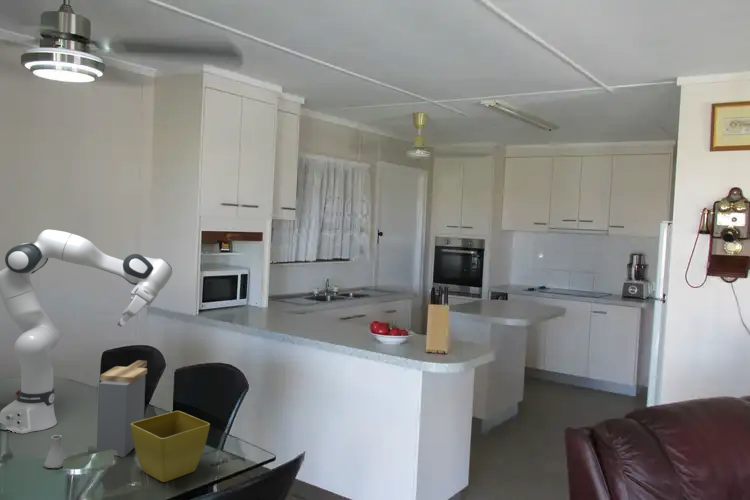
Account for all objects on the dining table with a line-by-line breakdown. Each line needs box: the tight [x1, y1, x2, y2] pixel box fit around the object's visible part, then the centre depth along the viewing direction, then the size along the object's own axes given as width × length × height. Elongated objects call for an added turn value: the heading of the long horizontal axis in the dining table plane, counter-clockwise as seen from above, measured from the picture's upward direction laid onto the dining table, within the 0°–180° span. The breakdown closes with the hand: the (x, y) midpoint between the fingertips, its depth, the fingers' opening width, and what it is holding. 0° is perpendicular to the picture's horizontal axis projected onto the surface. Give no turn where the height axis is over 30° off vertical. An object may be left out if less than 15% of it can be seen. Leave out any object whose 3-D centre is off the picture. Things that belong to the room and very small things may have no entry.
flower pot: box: [131, 410, 211, 483], centre depth 204 cm, size 19×19×17 cm
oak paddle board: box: [99, 359, 148, 383], centre depth 225 cm, size 12×22×2 cm, turn 178°
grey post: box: [96, 375, 146, 458], centre depth 220 cm, size 10×16×26 cm, turn 178°
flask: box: [42, 434, 67, 468], centre depth 203 cm, size 7×7×10 cm
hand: (119, 325), depth 232 cm, fingers open, 8 cm apart
